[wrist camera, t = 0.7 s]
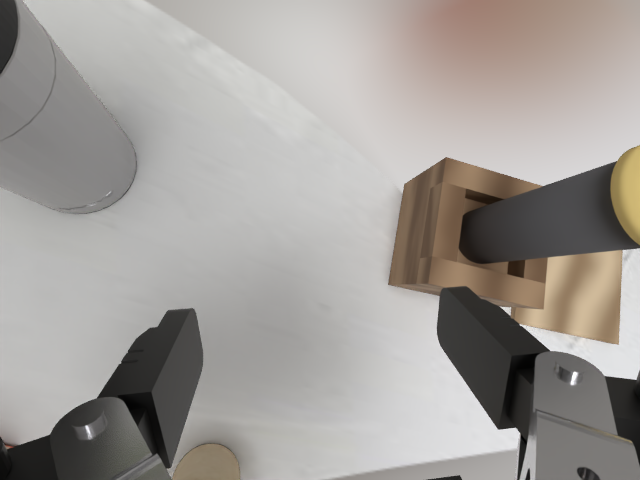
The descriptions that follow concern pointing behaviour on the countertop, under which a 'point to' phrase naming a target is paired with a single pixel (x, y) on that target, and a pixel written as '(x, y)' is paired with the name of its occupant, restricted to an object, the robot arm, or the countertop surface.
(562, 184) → the plug
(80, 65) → the countertop surface
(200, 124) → the countertop surface
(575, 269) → the cork mat
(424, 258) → the socket block
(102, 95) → the countertop surface
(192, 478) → the candle
